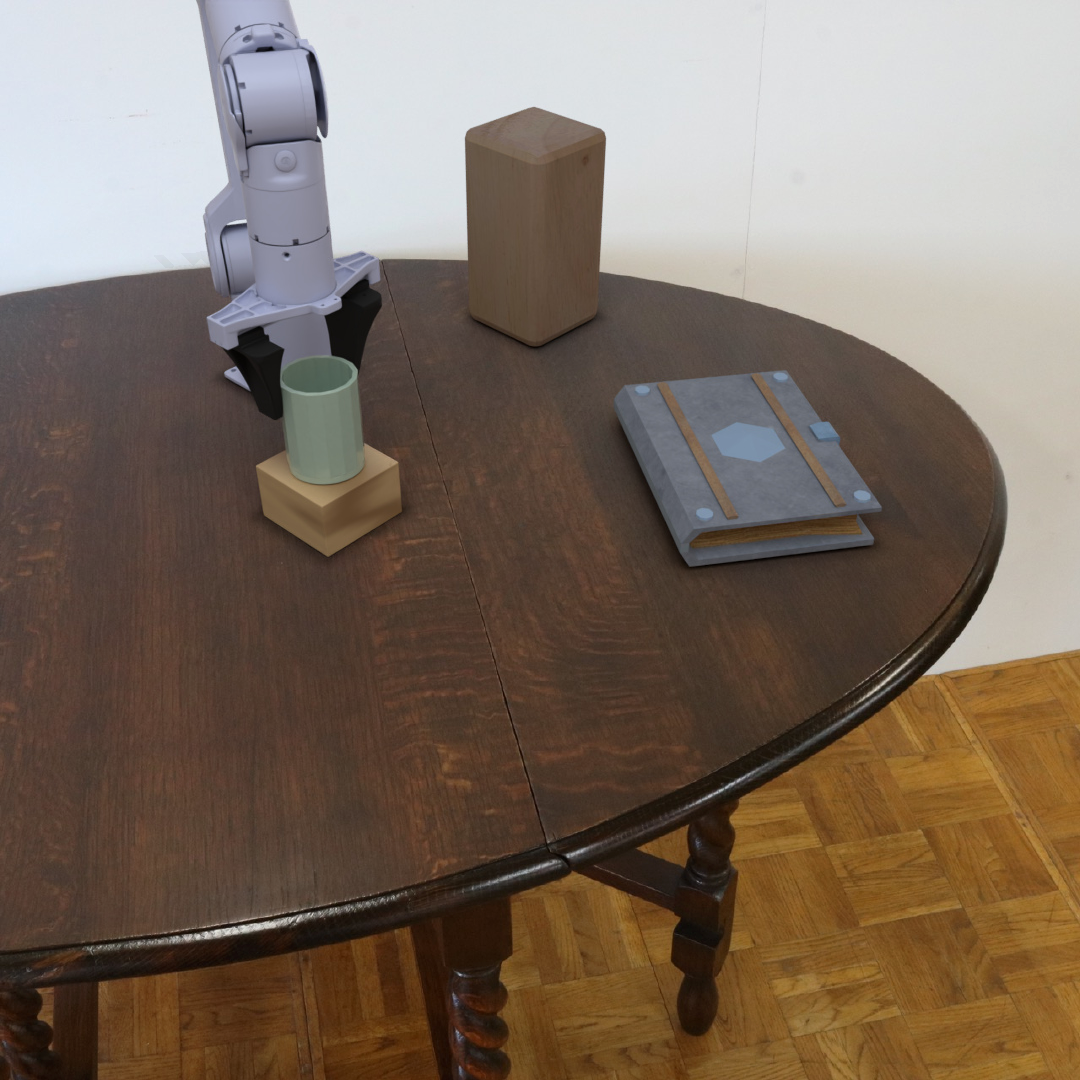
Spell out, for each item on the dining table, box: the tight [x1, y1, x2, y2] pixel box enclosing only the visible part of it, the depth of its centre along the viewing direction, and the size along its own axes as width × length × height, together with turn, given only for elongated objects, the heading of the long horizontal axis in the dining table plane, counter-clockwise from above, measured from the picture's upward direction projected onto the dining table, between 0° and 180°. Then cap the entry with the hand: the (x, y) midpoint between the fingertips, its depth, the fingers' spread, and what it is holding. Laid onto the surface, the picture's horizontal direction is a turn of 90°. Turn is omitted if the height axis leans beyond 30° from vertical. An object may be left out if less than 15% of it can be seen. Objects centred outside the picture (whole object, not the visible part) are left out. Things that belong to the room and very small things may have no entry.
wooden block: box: [464, 106, 607, 347], centre depth 117 cm, size 10×10×20 cm
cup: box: [280, 355, 365, 484], centre depth 92 cm, size 6×6×8 cm
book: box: [613, 369, 883, 567], centre depth 100 cm, size 21×16×5 cm
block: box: [255, 442, 403, 558], centre depth 96 cm, size 8×8×5 cm
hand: (309, 394), depth 92 cm, fingers open, 7 cm apart
